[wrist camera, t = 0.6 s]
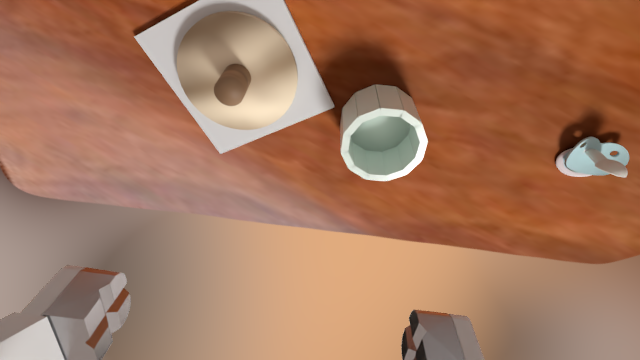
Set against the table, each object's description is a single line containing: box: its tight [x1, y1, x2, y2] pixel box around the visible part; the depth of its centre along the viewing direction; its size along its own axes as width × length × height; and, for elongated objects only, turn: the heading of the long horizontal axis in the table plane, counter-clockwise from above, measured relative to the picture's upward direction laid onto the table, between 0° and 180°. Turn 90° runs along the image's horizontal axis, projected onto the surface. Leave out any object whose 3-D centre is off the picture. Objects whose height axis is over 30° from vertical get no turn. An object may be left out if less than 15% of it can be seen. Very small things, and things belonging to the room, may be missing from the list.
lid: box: [177, 11, 298, 130], centre depth 39 cm, size 13×13×5 cm
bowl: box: [340, 84, 428, 181], centre depth 42 cm, size 9×9×6 cm
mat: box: [134, 0, 334, 154], centre depth 41 cm, size 16×16×1 cm
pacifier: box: [556, 137, 629, 178], centre depth 44 cm, size 7×6×6 cm
